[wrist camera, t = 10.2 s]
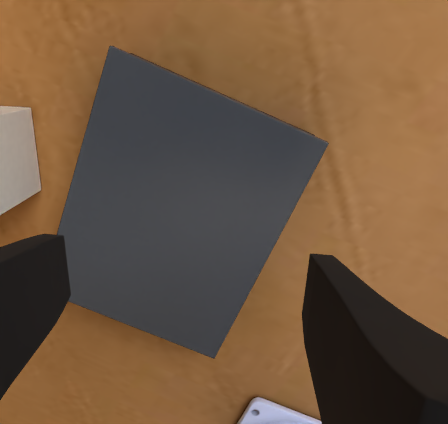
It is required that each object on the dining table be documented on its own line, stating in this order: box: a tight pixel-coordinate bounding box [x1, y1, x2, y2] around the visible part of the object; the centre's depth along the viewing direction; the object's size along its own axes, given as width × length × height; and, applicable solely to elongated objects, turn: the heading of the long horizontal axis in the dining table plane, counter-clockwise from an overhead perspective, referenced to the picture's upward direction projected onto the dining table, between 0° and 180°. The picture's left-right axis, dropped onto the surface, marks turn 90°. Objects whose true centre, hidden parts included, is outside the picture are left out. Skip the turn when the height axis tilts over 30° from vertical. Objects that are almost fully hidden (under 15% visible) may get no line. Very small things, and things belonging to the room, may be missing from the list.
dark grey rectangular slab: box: [57, 46, 329, 358], centre depth 20 cm, size 13×10×2 cm
